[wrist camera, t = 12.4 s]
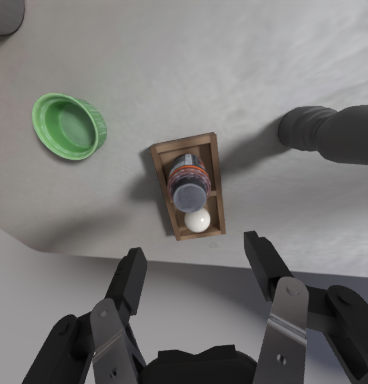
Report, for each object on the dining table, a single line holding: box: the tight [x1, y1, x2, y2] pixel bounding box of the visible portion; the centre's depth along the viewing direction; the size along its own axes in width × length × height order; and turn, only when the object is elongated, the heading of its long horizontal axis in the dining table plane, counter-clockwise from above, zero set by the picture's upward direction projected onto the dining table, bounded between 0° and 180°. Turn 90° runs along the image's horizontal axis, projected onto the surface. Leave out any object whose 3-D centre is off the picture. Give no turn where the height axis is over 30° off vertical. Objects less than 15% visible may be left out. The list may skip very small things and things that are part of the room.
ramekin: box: [32, 93, 107, 160], centre depth 24 cm, size 9×9×4 cm
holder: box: [150, 132, 226, 241], centre depth 30 cm, size 10×20×3 cm, turn 11°
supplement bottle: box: [167, 153, 211, 213], centre depth 23 cm, size 6×6×11 cm
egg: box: [184, 208, 210, 232], centre depth 31 cm, size 5×5×5 cm
